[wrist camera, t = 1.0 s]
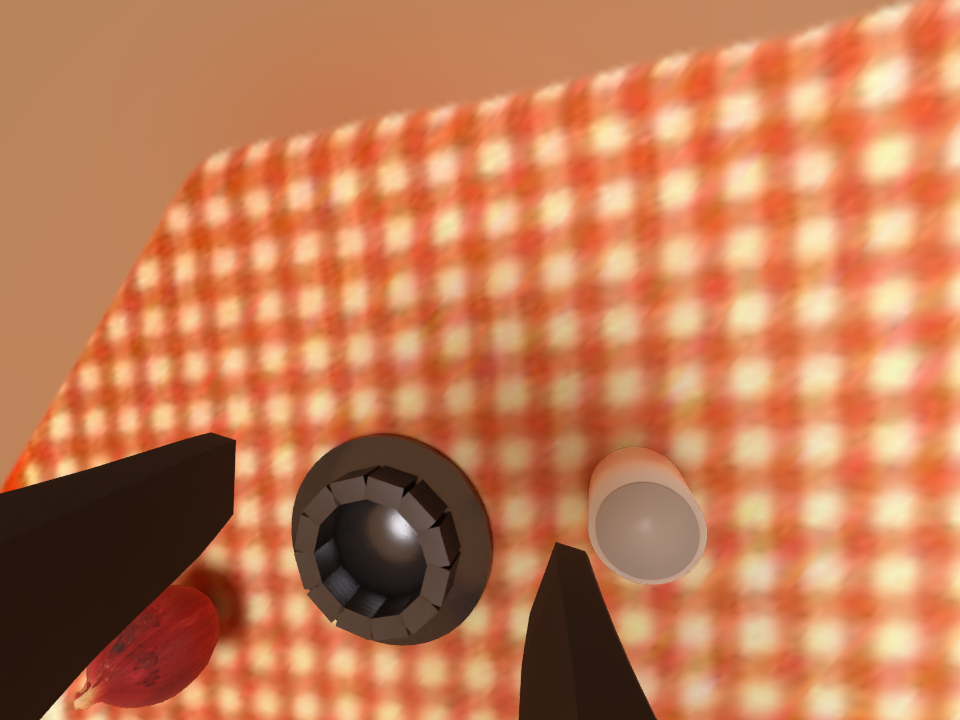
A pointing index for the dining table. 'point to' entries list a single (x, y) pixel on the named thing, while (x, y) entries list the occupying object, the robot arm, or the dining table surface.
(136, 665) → the onion
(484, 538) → the ridged round lid
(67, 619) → the robot arm
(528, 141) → the dining table surface
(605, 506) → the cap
